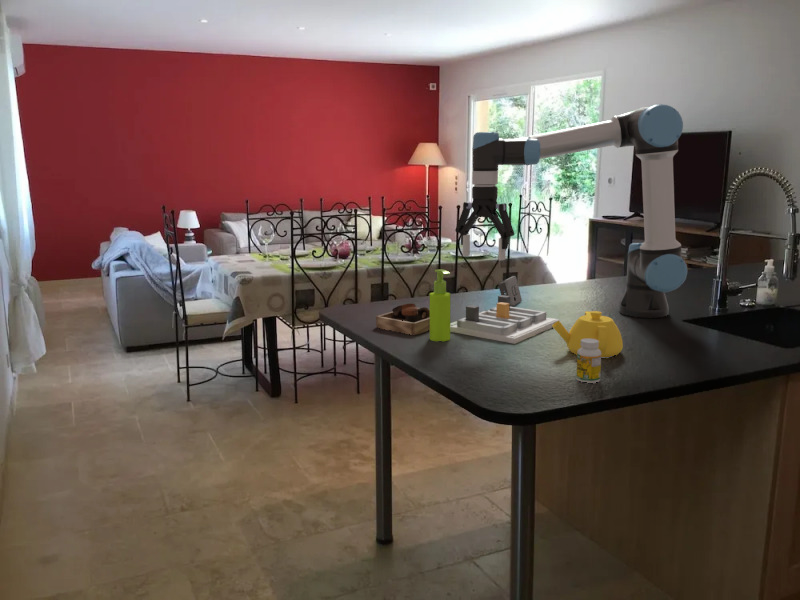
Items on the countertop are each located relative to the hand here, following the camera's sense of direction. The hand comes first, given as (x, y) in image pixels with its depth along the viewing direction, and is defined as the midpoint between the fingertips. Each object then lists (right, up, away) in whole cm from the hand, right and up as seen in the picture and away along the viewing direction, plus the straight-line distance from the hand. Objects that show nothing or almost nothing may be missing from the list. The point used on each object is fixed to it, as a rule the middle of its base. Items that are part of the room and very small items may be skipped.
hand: (483, 258), depth 209 cm
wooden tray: (-22, -21, +3) cm, 30 cm away
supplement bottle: (+18, -32, -48) cm, 60 cm away
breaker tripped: (+6, -19, -1) cm, 20 cm away
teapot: (+24, -27, -26) cm, 44 cm away
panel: (+6, -21, 0) cm, 22 cm away
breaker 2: (+7, -17, +9) cm, 21 cm away
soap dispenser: (-14, -24, -12) cm, 30 cm away
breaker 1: (-4, -20, -4) cm, 21 cm away
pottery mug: (-22, -21, +2) cm, 30 cm away
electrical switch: (+13, -14, +32) cm, 37 cm away
